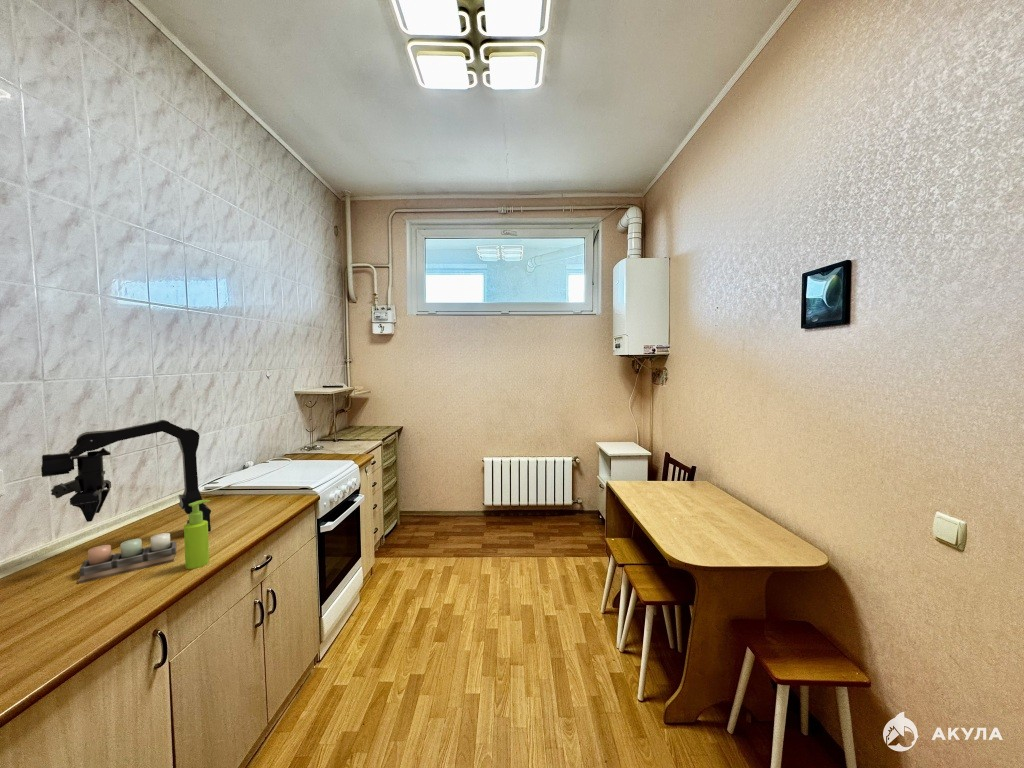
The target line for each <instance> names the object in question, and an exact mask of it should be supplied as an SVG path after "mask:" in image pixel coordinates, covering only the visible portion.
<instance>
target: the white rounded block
mask: <svg viewBox="0 0 1024 768" xmlns="http://www.w3.org/2000/svg"><path fill="white" fill-rule="evenodd" d="M170 542H171V533H169V532H164V533H158V534H155V535H152V536H151V537H150V546H151V551H160V550H164V549H167V548H169V547H170Z"/></svg>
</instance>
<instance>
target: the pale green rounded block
mask: <svg viewBox="0 0 1024 768" xmlns="http://www.w3.org/2000/svg"><path fill="white" fill-rule="evenodd" d="M142 544H143V543H142V538H133V539H128V540H126V541H123V542H121V543H120V553H121V557H122V558H128V557H133V556H136V555H138V554H140V553H142V548H143V547H142V546H143V545H142Z"/></svg>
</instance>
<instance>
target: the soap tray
mask: <svg viewBox="0 0 1024 768" xmlns="http://www.w3.org/2000/svg"><path fill="white" fill-rule="evenodd" d="M177 542H178V541H177V540H175V541H173V540H172V541H170V547H169V548H167V549H164V550H160V551H151V545H150V546H146V547H145V546H143V547H142V553H140V554H138V555H136V556H133V557H128V558H122V557H121V552H118V553H111V559H110V560H109V561H107V562H104V563H100V564H96V565H89V559H85V560H84V561H83V563H82V564H81V566H80V567H79V579H78V580H77V582H78V583H77V584H83V583H87V582H92V581H96V580H100V579H104V578H108V577H113V576H117V575H121V574H125V573H131V572H134V571H137V570H143V569H148V568H151V567H155V566H160V565H163V564H168V563H173V562H174V561H175V556H176V554H177V548H178V546H177V545H178V544H177Z"/></svg>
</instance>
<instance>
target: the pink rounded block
mask: <svg viewBox="0 0 1024 768" xmlns="http://www.w3.org/2000/svg"><path fill="white" fill-rule="evenodd" d="M87 552H88V553H87V557H88V559H87V560H89V565H96V564H100V563H104V562H107V561H109V560H110V559H111V554H112V545H111V544H102V545H98V546H94V547H91V548H90V549H88V550H87Z"/></svg>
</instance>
